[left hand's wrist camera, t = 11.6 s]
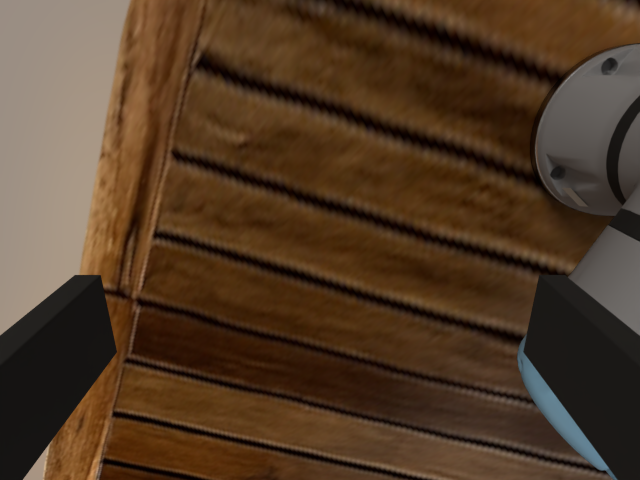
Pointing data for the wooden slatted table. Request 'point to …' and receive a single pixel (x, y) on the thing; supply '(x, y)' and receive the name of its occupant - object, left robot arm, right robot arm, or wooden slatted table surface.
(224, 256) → the wooden slatted table surface
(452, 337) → the wooden slatted table surface
